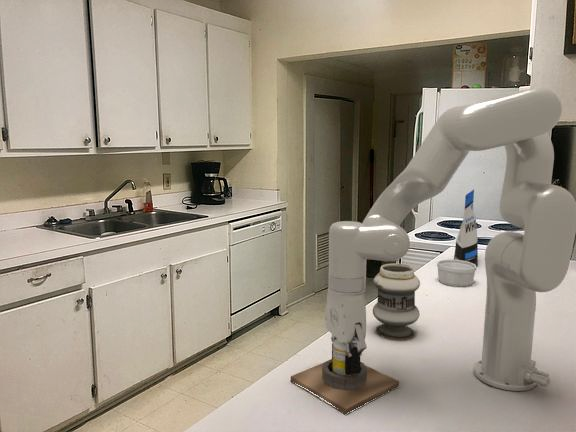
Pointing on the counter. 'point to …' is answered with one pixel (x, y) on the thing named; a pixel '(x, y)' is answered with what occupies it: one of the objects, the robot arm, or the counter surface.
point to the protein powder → (467, 234)
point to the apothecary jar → (396, 301)
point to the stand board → (349, 395)
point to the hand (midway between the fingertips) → (345, 365)
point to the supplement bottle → (340, 357)
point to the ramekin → (456, 272)
